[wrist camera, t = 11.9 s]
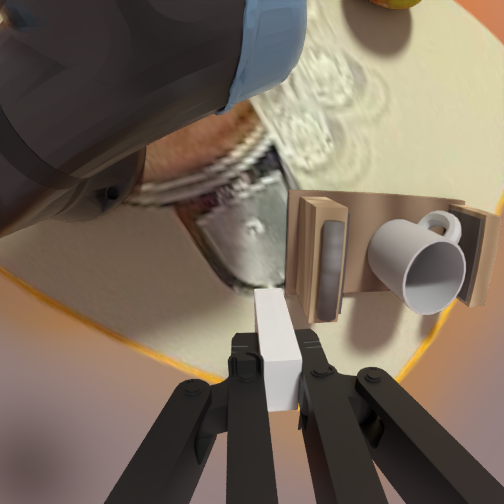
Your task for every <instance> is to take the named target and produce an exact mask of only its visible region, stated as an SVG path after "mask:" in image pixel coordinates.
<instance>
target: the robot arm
mask: <svg viewBox="0 0 504 504" xmlns="http://www.w3.org/2000/svg"><path fill="white" fill-rule="evenodd" d="M0 14H1V15H2V17H3V19H4V20H3V21H2V22H1V23H0V238H2V237H4V236H6V235H9V234H11V233H13V232H16V231H18V230H20V229H23V228H25V227H28V226H30V225H32V224H35V223H37V222H40V221H42V220H45V219H48V218H52V219H57V220H61V221H66V222H85V221H90V220H93V219H96V218H98V217H100V216H102V215H105V214H107V213H109V212H110V211H112V210H114V209H115V208H116V207H118V206H119V205H120V204H121V203H122V202H123V201H124V200H125V199H126V198H127V197H128V196H129V194H130V193H131V191H132V190H133V188H134V187H135V185H136V183H137V181H138V179H139V177H140V174H141V171H142V168H143V164H144V160H145V153H146V146H147V145H149V144H151V143H153V142H155V141H157V140H159V139H161V138H163V137H165V136H167V135H169V134H171V133H173V132H175V131H177V130H179V129H181V128H183V127H185V126H187V125H189V124H192V123H194V122H196V121H198V120H200V119H203V118H205V117H207V116H209V115H212V114H216V115H221V114H224V113H226V112H228V111H229V110H230V109H231V108H232V107H233V106H234V105H235V104H237V103H239V102H241V101H244V100H246V99H248V98H251V97H253V96H255V95H258V94H260V93H262V92H265V91H267V90H270V89H272V88H274V87H276V86H278V85H279V84H280V83H282V82H283V81H284V80H285V79H286V78H287V77H288V75H289V74H290V72H291V71H292V69H293V68H294V67H295V66H296V65H297V63H298V61H299V59H300V55H301V53H302V50H303V46H304V41H305V35H306V27H307V0H0ZM254 307H255V333H236V334H235V336H234V337H233V338H232V345H231V346H232V347H231V356H230V357H229V359H228V370H229V377H228V378H227V379H226V380H225V381H223V382H221V383H218V384H215V385H211V386H209V384H208V383H207V382H205V381H203V380H200V379H190V380H185V381H183V382H181V383H180V384H179V385H178V386H177V387H176V388H175V390H174V392H173V394H172V395H171V397H170V398H169V400H168V402H167V403H166V405H165V406H164V408H163V409H162V411H161V413H160V414H159V416H158V418H157V419H156V421H155V423H154V424H153V426H152V427H151V429H150V431H149V432H148V434H147V435H146V437H145V439H144V440H143V442H142V443H141V445H140V447H139V448H138V450H137V451H136V453H135V455H134V456H133V458H132V459H131V461H130V463H129V464H128V466H127V467H126V469H125V471H124V472H123V474H122V475H121V477H120V478H119V480H118V482H117V483H116V485H115V486H114V488H113V490H112V491H111V493H110V494H109V496H108V498H107V500H106V501H105V502H104V504H189V503H190V500H191V498H192V495H193V493H194V491H195V488H196V486H197V484H198V481H199V479H200V476H201V474H202V471H203V469H204V467H205V464H206V462H207V459H208V457H209V454H210V452H211V450H212V447H213V445H214V442H215V440H216V437H217V434H219V433H223V432H227V431H228V435H227V483H226V504H278V497H277V488H276V480H275V470H274V462H273V452H272V443H271V435H270V426H269V417H268V412H269V411H284V410H297V409H298V402H299V406H300V416H299V424H298V430H300V429H302V434H303V438H304V443H305V448H306V453H307V458H308V463H309V468H310V473H311V478H312V483H313V488H314V493H315V498H316V503H317V504H388V501H387V499H386V496H385V493H384V490H383V487H382V485H381V482H380V480H379V477H378V474H377V471H376V469H375V466H374V463H373V461H374V462H375V463H376V465H377V466H378V467H379V469H380V470H381V471H382V473H383V474H384V475H385V477H386V478H387V479H388V481H389V482H390V483H391V485H392V486H393V487H394V489H395V490H396V491H397V493H398V494H399V495H400V496H401V498H402V499H403V500H404V502H405V503H406V504H504V487H503V486H502V485H501V484H500V483H499V482H498V481H497V480H496V479H495V478H494V477H493V476H492V475H491V474H490V473H489V472H488V471H487V470H486V469H485V468H484V467H483V466H482V465H481V464H480V463H479V462H478V461H477V460H475V458H474V457H473V456H472V455H471V454H470V453H469V452H468V451H467V450H466V449H465V448H464V447H463V446H461V444H459V443H458V441H457V440H455V439H454V438H453V437H452V436H451V435H450V434H449V433H448V432H447V431H446V430H445V429H444V428H443V427H442V426H441V425H440V424H439V423H438V422H437V421H436V420H435V419H434V418H433V417H432V416H431V415H430V414H429V413H428V412H427V411H426V410H425V409H424V408H423V407H422V406H421V405H420V404H419V403H418V402H417V401H416V400H415V399H414V398H413V397H412V396H410V395H409V394H408V393H407V392H406V391H405V390H404V389H403V388H402V387H401V386H400V385H399V384H398V383H397V382H396V381H395V380H394V379H393V378H392V377H391V376H390V375H389V374H388V373H387V372H386V371H384V370H383V369H380V368H377V367H367V368H363V369H361V370H360V371H359V372H358V374H357V376H351V375H344V374H340V373H338V372H337V370H336V369H335V367H334V366H332V365H330V364H329V363H328V361H327V358H326V356H325V353H324V351H323V348H322V347H321V343H320V342H319V338H318V336H317V334H316V333H315V332H314V331H312V330H311V329H301V330H294V329H293V325H292V322H291V319H290V315H289V312H288V308H287V305H286V302H285V298H284V295H283V292H282V288H271V289H254ZM372 459H373V461H372Z"/></svg>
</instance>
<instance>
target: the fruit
mask: <svg viewBox="0 0 504 504" xmlns="http://www.w3.org/2000/svg"><path fill="white" fill-rule="evenodd" d="M368 1H370V2H372V3H374V4H377V5H379V6H382V7H385V8H390V9H407V8H410V7H413V6H415V5H416V4H418V3H419V2H420V1H421V0H368Z"/></svg>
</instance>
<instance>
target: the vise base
mask: <svg viewBox="0 0 504 504" xmlns="http://www.w3.org/2000/svg"><path fill="white" fill-rule="evenodd" d="M300 196H309V197H327V198H329V199H331V200H333V201H335V202H337V203H339V204H341V205H343V206H345V207H347V208H348V212H349V213H350V226H349V239H348V251H347V262H346V272H345V281H344V290H343V293H348V292H371V291H390V289H389V288H388V287H387V286H386V285H385V284H384V283H383V282H382V281H381V280H380V279H379V278H378V277H377V276H376V275H375V273H374V272H373V271H372V270H371V267H370V265H369V262H368V247H369V244H370V241H371V238H372V237H373V235H374V233H375V232H376V231H377V230H378V229H379V228H380V227H381V226H382V225H383V224H385V223H386V222H388V221H391V220H395V219H403V220H407V221H409V222H412V223H414V224H417V223H418V222H419V221H420V220H421V219H422V218H423V217H424V216H425V215H427V214H428V213H430V212H433V211H445V212H448V213H450V214H453V215H454V216H455V217H457V218H458V220H459V222H460V225H461V237H460V240H459V242H458V244H457V245H458V246H460V248H461V250H462V252H463V253H464V257H465V261H466V273H465V278H464V282H463V284H462V287H461V289H460V291H459V293H458V294H457V296H456V298H457V299H459V300H460V301H461V302H463V303H464V304H465V305H467V306H468V307H476V306H483V305H485V301H486V297H487V293H488V289H489V285H490V281H491V276H492V272H493V267H494V262H495V257H496V252H497V246H498V240H499V234H500V227H501V219H502V217H501V216H498V215H495V214H492V213H488V212H485V211H482V210H479V209H476V208H472V207H469V206H466V205H465V201H463V200H457V199H446V198H436V197H424V196H412V195H398V194H383V193H366V192H345V191H319V190H288V223H287V254H286V280H285V292H286V294H297V292H296V284H297V265H298V243H299V217H300ZM446 230H447V229H446V228H445V227H443V226H436V227H434V228H432V229H431V230H430V231H433V232H435V233H437V234H438V235H441V236H443V235H444V234H445V232H446Z"/></svg>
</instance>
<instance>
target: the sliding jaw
mask: <svg viewBox="0 0 504 504" xmlns="http://www.w3.org/2000/svg"><path fill="white" fill-rule="evenodd" d="M349 226H350V213H349V212H348V208H347V207H345V206H343V205H341V204H339V203H337V202H335V201H333V200H331V199H329V198H327V197H309V196H300V217H299V243H298V265H297V284H296V292H297V295H298V297H299V300H300V302H301V305H302V308H303V310H304V313H305V315H306V318H307V320H308V323H323V322H337V319H338V314H341V306H342V298H343V290H344V281H345V272H346V262H347V251H348V239H349Z"/></svg>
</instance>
